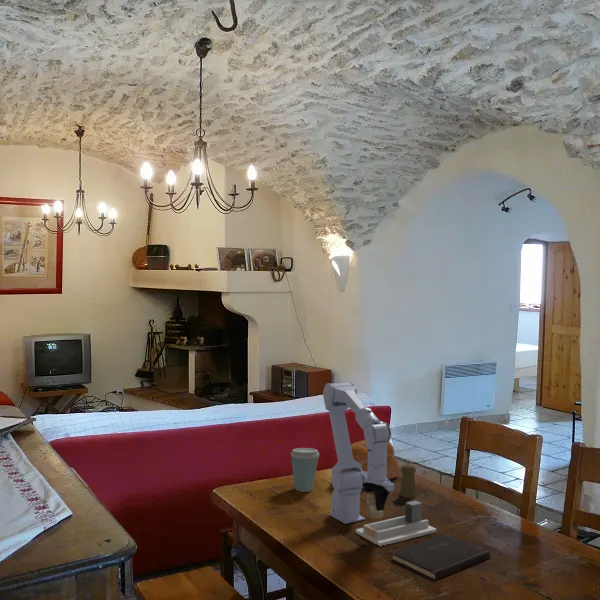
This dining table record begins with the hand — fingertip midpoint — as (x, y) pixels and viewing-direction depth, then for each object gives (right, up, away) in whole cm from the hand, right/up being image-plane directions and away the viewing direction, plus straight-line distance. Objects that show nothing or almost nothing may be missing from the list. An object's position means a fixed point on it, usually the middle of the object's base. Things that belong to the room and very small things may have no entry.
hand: (376, 508), depth 199 cm
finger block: (0, -2, 0) cm, 2 cm away
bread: (+3, -7, +57) cm, 58 cm away
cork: (+16, -8, +39) cm, 43 cm away
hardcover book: (+16, -10, -14) cm, 24 cm away
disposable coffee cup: (-21, -7, +45) cm, 50 cm away
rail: (+7, -9, +4) cm, 12 cm away
